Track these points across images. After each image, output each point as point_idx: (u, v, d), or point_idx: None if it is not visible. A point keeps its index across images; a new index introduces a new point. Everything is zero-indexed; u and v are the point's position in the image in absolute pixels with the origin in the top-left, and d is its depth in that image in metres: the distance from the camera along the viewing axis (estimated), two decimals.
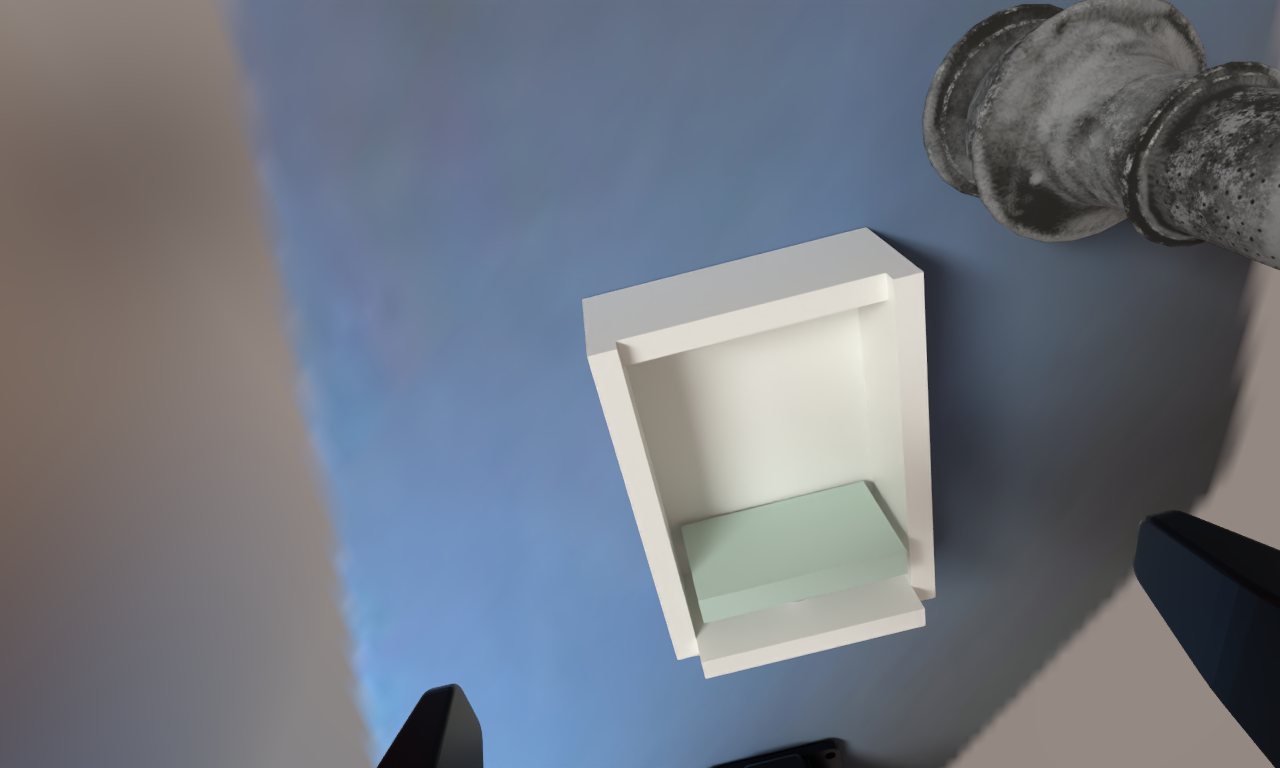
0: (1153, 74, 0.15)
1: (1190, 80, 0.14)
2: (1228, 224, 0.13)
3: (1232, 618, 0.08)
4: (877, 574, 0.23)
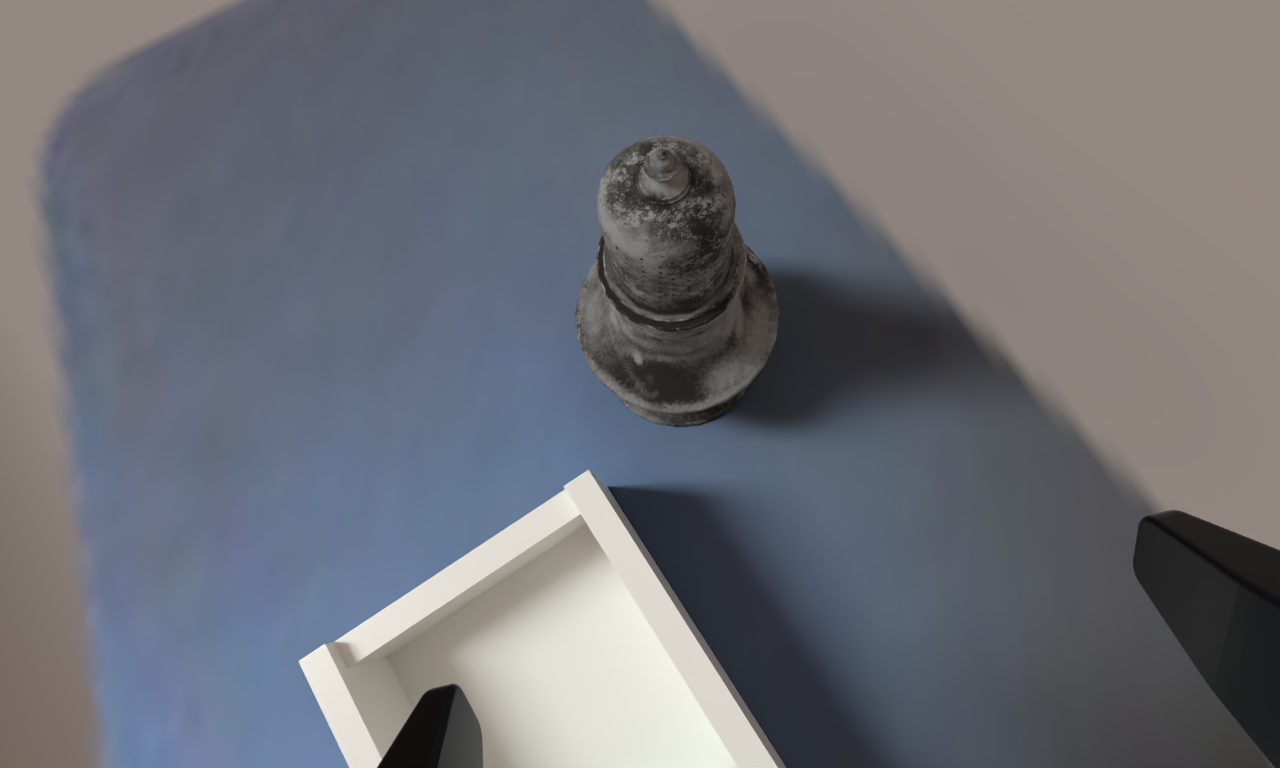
0: None
1: None
2: (622, 264, 0.15)
3: (1232, 618, 0.08)
4: None
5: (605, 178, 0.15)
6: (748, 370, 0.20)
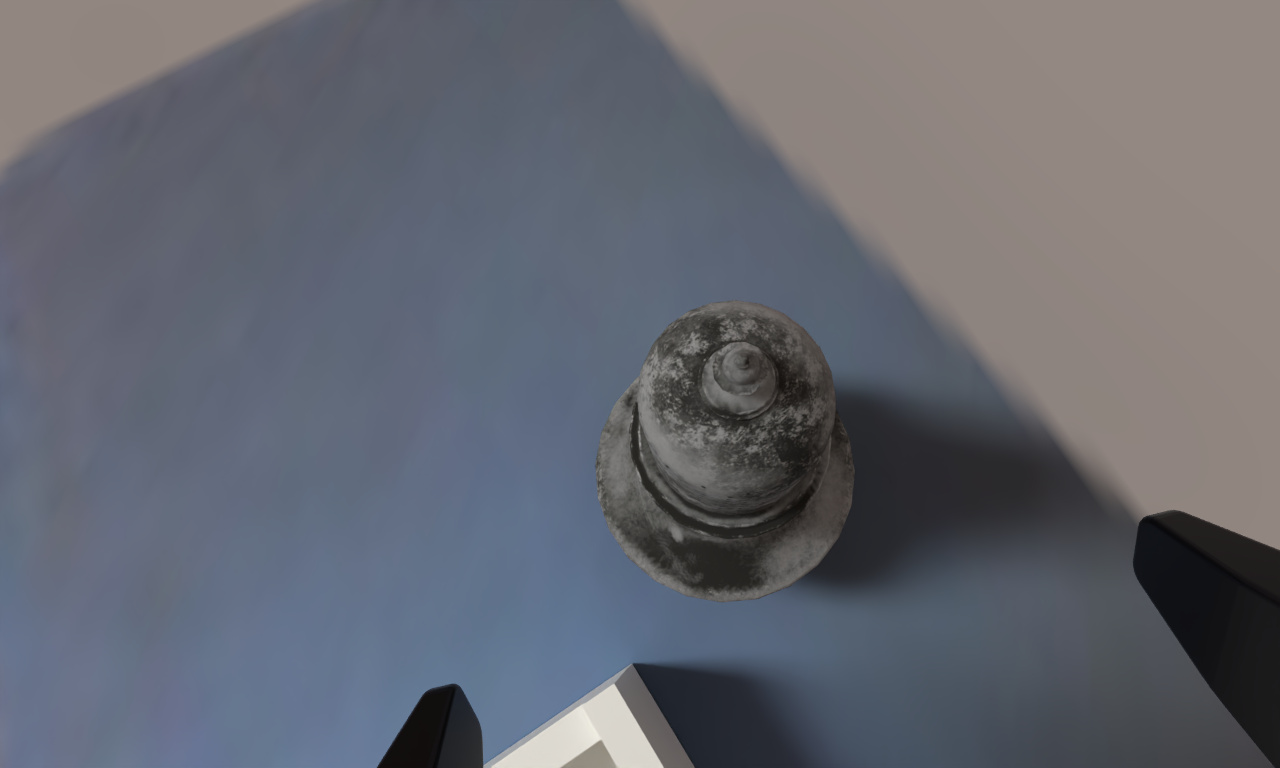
0: None
1: None
2: (672, 477, 0.11)
3: (1232, 618, 0.08)
4: None
5: (650, 366, 0.10)
6: (817, 547, 0.16)
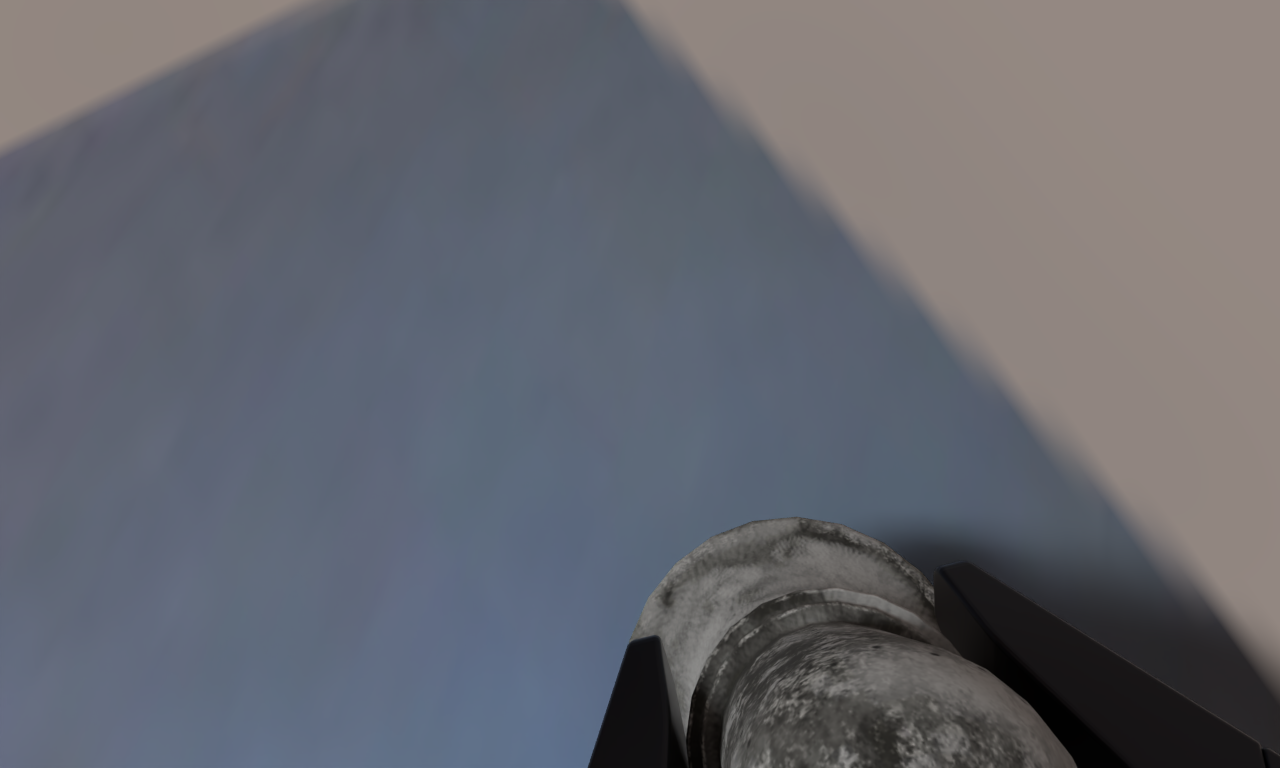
0: None
1: (712, 652, 0.09)
2: None
3: (995, 675, 0.08)
4: None
5: None
6: None
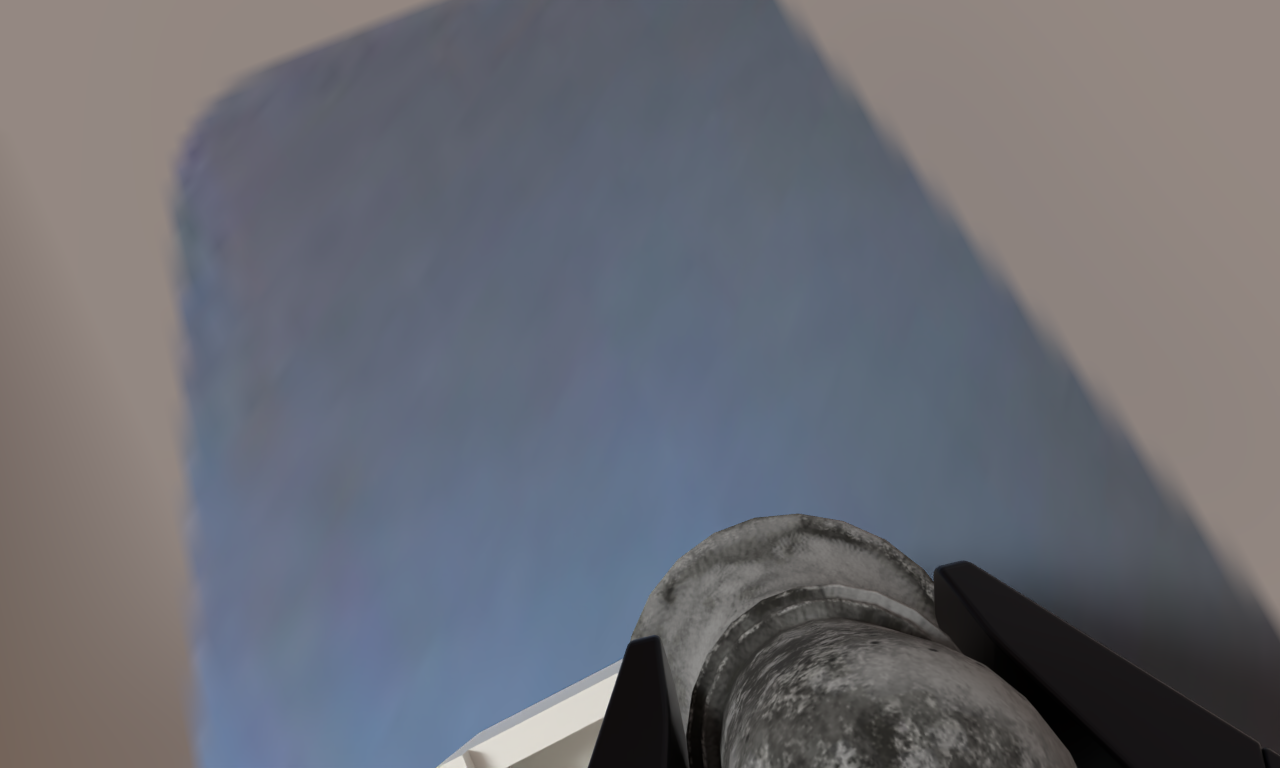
0: None
1: (713, 648, 0.09)
2: None
3: None
4: None
5: None
6: None
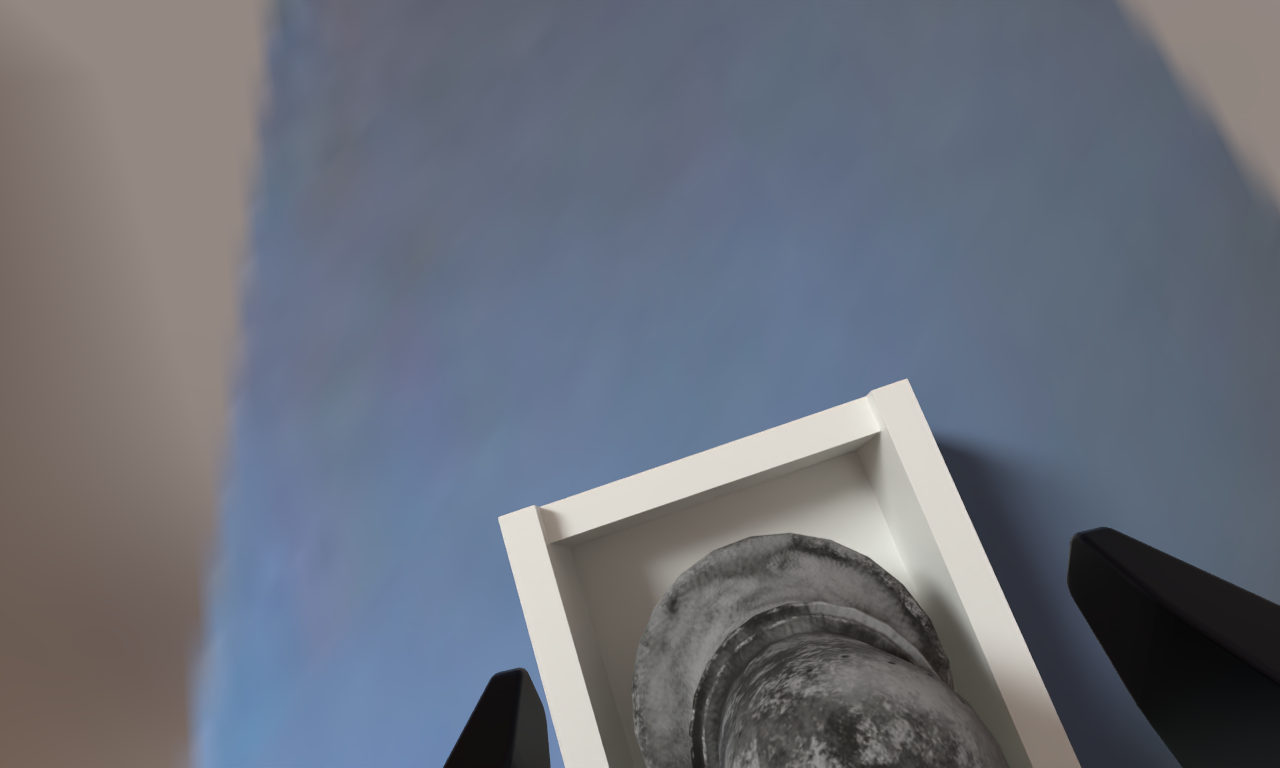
0: None
1: (712, 657, 0.10)
2: None
3: (1153, 637, 0.08)
4: None
5: None
6: None
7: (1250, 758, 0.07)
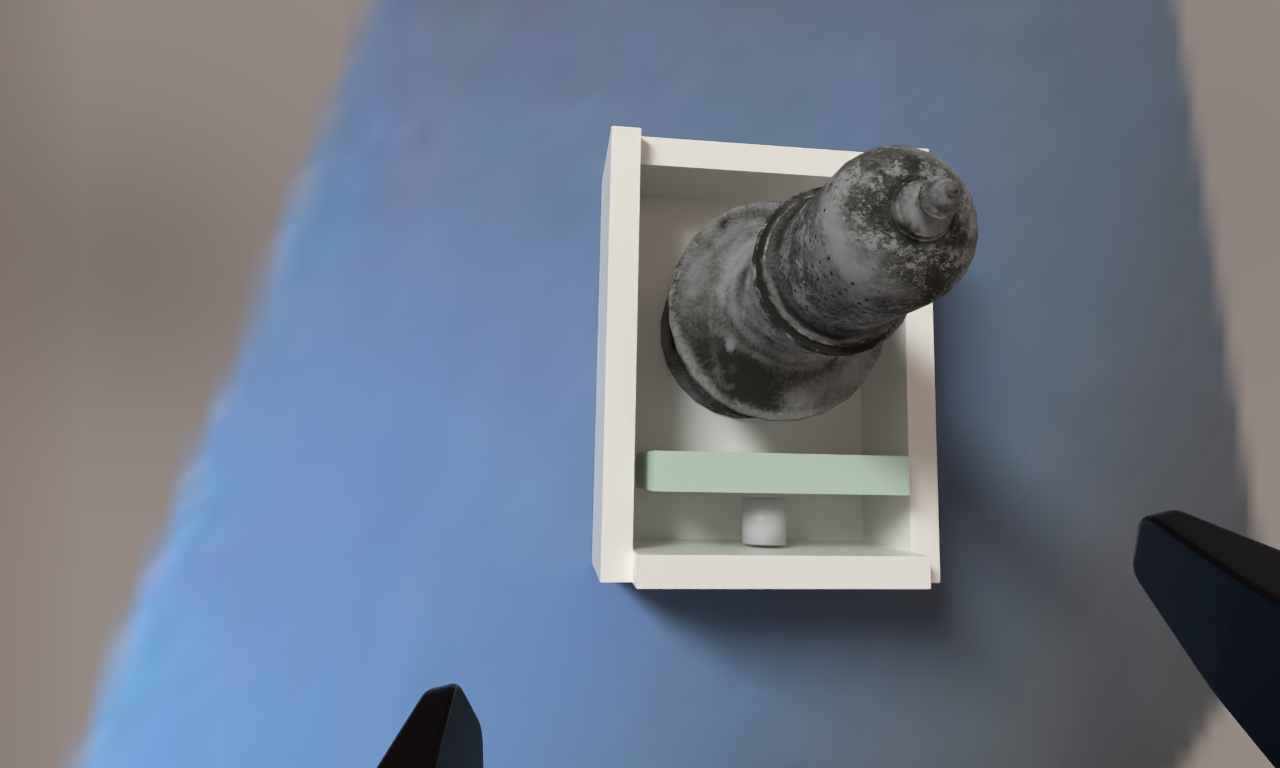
0: None
1: (786, 200, 0.15)
2: (816, 272, 0.13)
3: (1232, 618, 0.08)
4: (873, 483, 0.19)
5: (849, 174, 0.12)
6: (831, 398, 0.19)
7: None
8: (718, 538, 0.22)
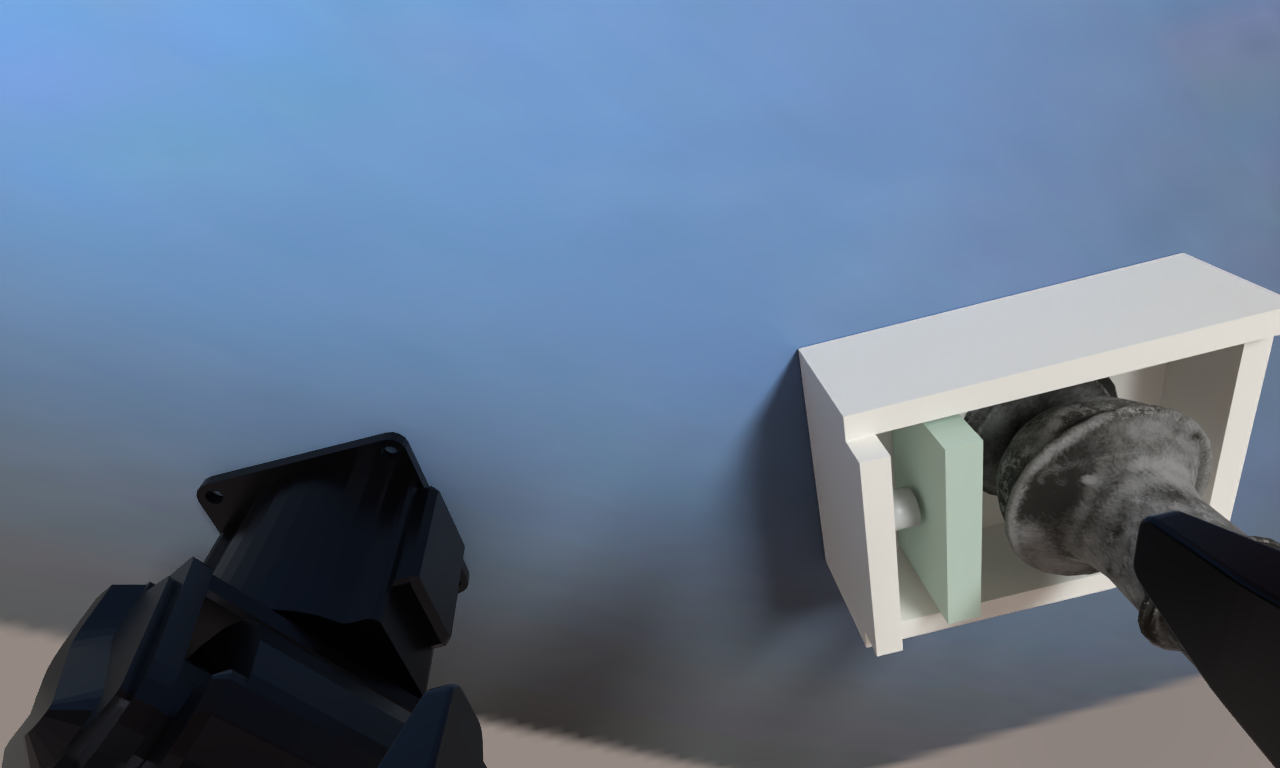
0: None
1: None
2: None
3: (1232, 618, 0.08)
4: (957, 600, 0.22)
5: None
6: (1027, 553, 0.21)
7: None
8: None
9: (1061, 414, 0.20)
